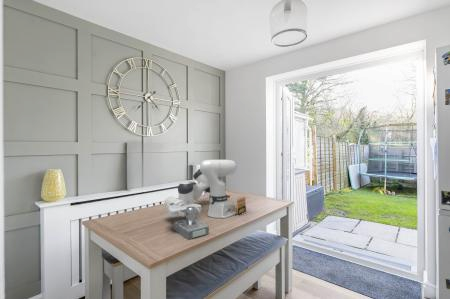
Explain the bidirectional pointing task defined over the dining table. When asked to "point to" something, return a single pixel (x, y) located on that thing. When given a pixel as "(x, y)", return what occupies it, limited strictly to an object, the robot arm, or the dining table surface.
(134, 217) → the dining table surface
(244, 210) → the ammunition clip
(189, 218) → the cylinder
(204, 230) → the kitchen scale
